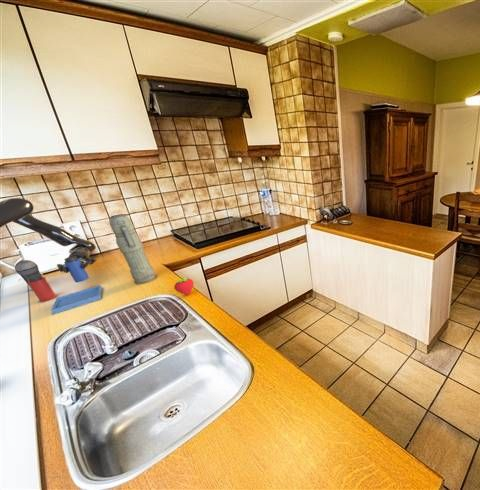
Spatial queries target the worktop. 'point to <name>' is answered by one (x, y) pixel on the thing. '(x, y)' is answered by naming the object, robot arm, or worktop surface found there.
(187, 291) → the strawberry
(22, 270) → the beverage cup
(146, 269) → the stone statue
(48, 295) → the red bottle
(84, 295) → the blue tray
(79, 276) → the blue bottle
